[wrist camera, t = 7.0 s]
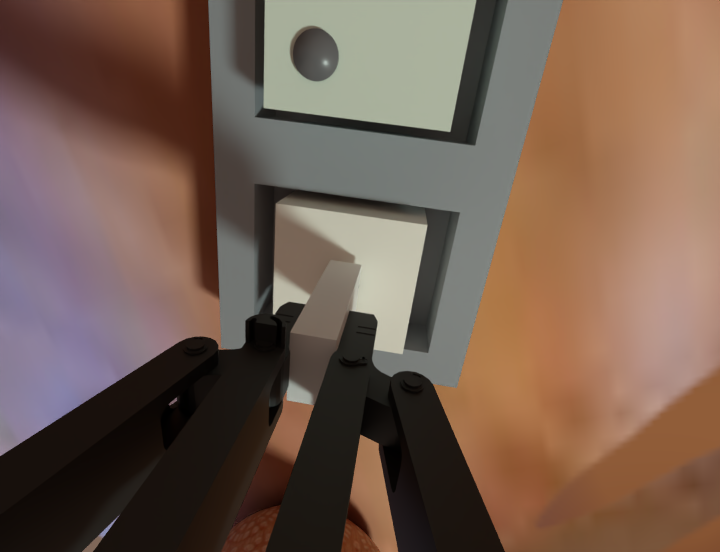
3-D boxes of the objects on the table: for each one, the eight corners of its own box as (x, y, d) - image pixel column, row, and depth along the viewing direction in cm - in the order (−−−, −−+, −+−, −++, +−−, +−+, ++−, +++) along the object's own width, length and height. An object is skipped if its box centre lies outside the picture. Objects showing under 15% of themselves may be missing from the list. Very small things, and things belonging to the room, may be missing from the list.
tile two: (293, 109, 18) (261, 107, 14) (301, -82, 15) (264, -149, 11) (441, 128, 17) (450, 132, 14) (477, -65, 15) (502, -129, 11)
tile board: (247, 315, 26) (221, 347, 23) (243, -569, 13) (176, -848, 9) (449, 348, 25) (456, 387, 22) (679, -564, 12) (802, -872, 8)
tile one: (293, 299, 24) (271, 334, 20) (298, 188, 21) (274, 204, 17) (403, 317, 23) (402, 356, 20) (424, 205, 21) (427, 226, 17)
